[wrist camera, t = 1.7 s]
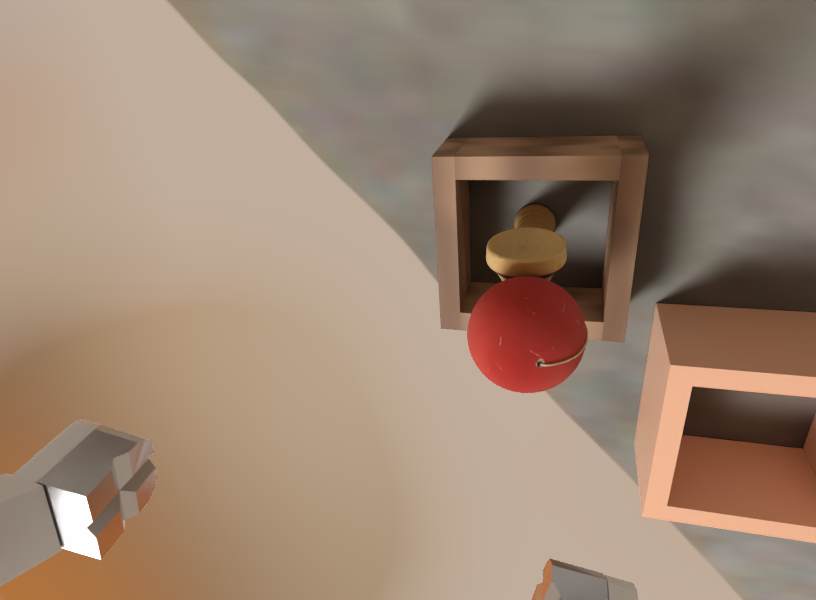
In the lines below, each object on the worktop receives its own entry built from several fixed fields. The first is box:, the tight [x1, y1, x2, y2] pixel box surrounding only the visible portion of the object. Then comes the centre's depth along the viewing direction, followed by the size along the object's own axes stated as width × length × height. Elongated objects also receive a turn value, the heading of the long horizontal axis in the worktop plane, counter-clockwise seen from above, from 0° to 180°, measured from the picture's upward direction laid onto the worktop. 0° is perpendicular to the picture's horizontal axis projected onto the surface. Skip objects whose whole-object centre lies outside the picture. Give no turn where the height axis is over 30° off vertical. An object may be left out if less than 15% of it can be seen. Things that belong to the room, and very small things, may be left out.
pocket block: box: [431, 135, 649, 342], centre depth 39 cm, size 13×13×5 cm
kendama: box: [467, 205, 588, 393], centre depth 34 cm, size 8×6×18 cm
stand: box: [634, 303, 816, 543], centre depth 40 cm, size 14×14×8 cm
